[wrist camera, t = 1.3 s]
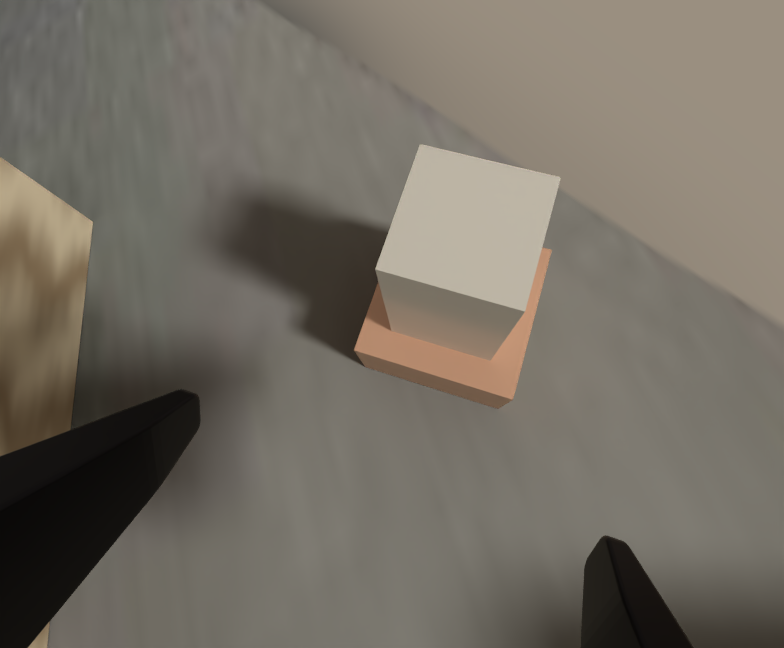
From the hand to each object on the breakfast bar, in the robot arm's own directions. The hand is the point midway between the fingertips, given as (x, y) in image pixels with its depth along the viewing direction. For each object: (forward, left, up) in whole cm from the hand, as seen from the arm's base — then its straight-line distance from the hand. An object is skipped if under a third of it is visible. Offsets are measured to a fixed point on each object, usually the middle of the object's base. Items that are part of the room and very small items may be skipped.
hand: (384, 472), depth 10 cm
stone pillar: (+7, -3, -9) cm, 12 cm away
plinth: (+7, -3, -13) cm, 15 cm away
